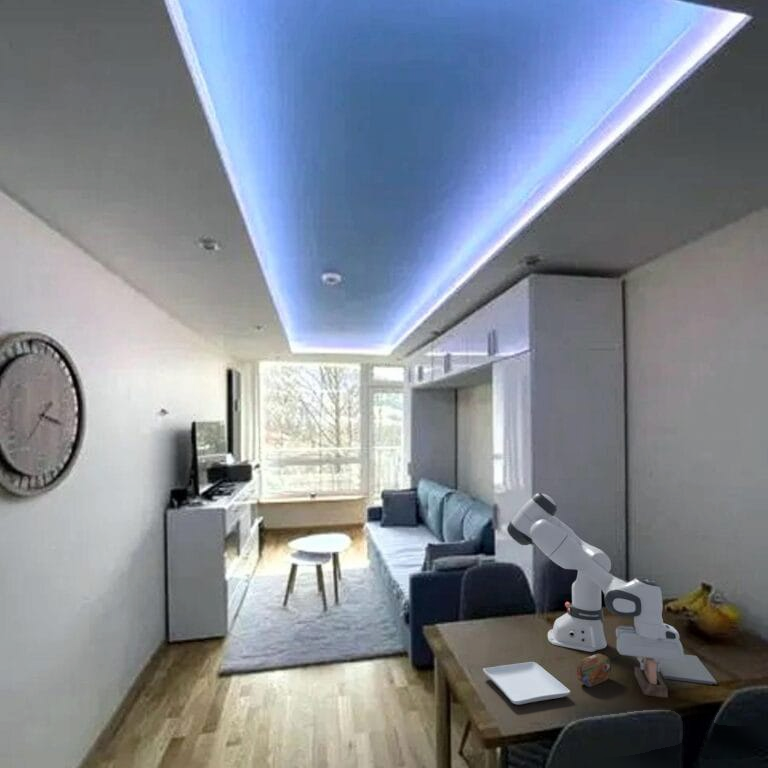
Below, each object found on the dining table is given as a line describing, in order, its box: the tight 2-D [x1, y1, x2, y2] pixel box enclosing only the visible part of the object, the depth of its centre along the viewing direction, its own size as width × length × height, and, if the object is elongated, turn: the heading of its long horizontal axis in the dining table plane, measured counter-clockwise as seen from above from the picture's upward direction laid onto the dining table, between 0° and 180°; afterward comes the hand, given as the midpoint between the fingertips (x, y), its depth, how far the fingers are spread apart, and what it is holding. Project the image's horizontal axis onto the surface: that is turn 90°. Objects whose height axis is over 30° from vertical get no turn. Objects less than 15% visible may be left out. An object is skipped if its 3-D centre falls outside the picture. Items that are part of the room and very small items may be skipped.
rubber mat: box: [653, 654, 718, 686], centre depth 181 cm, size 16×20×1 cm
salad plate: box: [482, 661, 571, 706], centre depth 167 cm, size 21×21×3 cm
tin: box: [576, 653, 612, 688], centre depth 172 cm, size 15×3×8 cm, turn 119°
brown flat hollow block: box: [634, 666, 669, 699], centre depth 169 cm, size 7×13×3 cm, turn 165°
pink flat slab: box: [643, 657, 657, 685], centre depth 169 cm, size 2×8×9 cm, turn 165°
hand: (649, 670), depth 169 cm, fingers open, 3 cm apart
